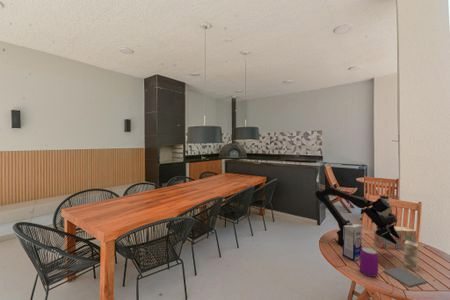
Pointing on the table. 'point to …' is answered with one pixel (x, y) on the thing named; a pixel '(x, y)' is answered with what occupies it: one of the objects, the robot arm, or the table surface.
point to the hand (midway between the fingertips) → (397, 240)
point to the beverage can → (369, 261)
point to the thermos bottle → (386, 212)
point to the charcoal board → (404, 276)
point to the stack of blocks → (404, 235)
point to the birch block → (411, 255)
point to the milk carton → (352, 241)
